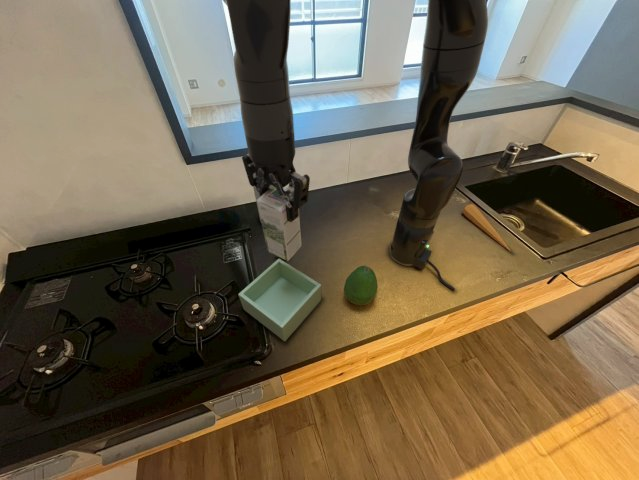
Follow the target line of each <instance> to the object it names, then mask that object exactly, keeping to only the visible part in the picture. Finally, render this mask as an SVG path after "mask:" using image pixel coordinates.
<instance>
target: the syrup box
mask: <svg viewBox="0 0 639 480" xmlns="http://www.w3.org/2000/svg"><path fill="white" fill-rule="evenodd" d="M289 197H290V199H292V198H293V197H292V195H291V193H290V194H289ZM257 204H258V207H257V209H258V208H259V212H258V214H259V213H260V217H259V219H260V218H261V222H260V223H261V227H262V232H263V237H264V243H265V245H266V250H267V253H269V254H271V255H273V256H275V257H276V256H278V257H277V258H279V259H281V260H283V261H285V262H289V261H290V260H291V258H293V257H294V255H296V253H297V252H298V251H299V250H300V248H301V247H302V245H303V244H302V234H301V233H302V232H301V221H300V215H299V216H298V217H297V218H296V219H295V220H294V221H292V222H289V221H287V214H286V206H287V205H286V203H285V201H284V199H283V197H280V196H279V194H278V191H277V189H276V188H275V187H274V186H273V187H272V188H270V189H269V190H268V191H266V192H265V193H264V194H263V195H262V196H261V197H260V198H259V199H257V203H256V205H257ZM298 210H299V211H300V208H299V209H298Z"/></svg>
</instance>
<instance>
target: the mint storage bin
mask: <svg viewBox="0 0 639 480" xmlns="http://www.w3.org/2000/svg"><path fill="white" fill-rule="evenodd" d="M238 298H239V301H240V303H241V307H242V309H243V310H244V311H245V312H246V313H247V314H249V315H250V316H251V317H252V318H254V319H255V320H257V321H258V322H259V323H260V324H262V325H263V326H264V327H266V329H268V330H269V331H270V332H271V333H273V334H274V335H276V336H277V337H278V338H279V339H280V340H282V341H283V342H287V340H288V339H289V338H290V337H291V336H292V334H293V333H294V332H296V330H297V328H299V326H300V325H301V324H302V323H303V322H304V320H306V318H307V317H308V316H309V315H310V314H311V312H312V311H314V309H315V308H317V306H318V305H319V303H320V302H321V301H322V284H321V283H319V282H318V281H316V280H315V279H312V278H311V277H309V276H308V275H306V274H305V273H303V272H302V271H300V270H298V269H297V268H295V267H293V266H292V265H290V264H289V263H287V262H286V261H285V260H283V259H282V258H278V259H276V260H274V262H273V263H272V264H271V265H269V267H267V268H266V269H265V270H264V271H262V272H261V273H260V274H259V275H258V276H257V277H256V278H255V279H253V281H251V282H250V283H249V284H248V285H247V286H245V288H244V289H242V290H241V291H240V292H239V293H238Z"/></svg>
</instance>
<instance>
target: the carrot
mask: <svg viewBox="0 0 639 480" xmlns="http://www.w3.org/2000/svg"><path fill="white" fill-rule="evenodd" d="M462 213H463V215H464V216H465V218H467V219H468V220H470V221H471V222H472V223H473V224H474V225H475V226H476V227H478V228H479V229H480V230H481V231H483V232H484V233H485V234H486V235H488V236H489V237H490V238H492V239H493V240H494V241H495V242H497V243H498V244H499V245H500V246H502V247H503V248H505V249H506V250H507V251H509V252H510V253H512V251H511V249H510V248H509V246H508V245H507V244H506V242H505V241H504V240H503V238H502V236H500V234H499V233H498V232H497V230H496V229H495V228H494V227H493V225H492V224H491V223H490V222H489V221H488V219H487V218H486V217H485V215H484V214H483V213H482V212H481V211H480V209H479V208H477V206H476V205H475V204H473V203H470V204H467V205H465V206H464V207H463V209H462Z"/></svg>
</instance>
